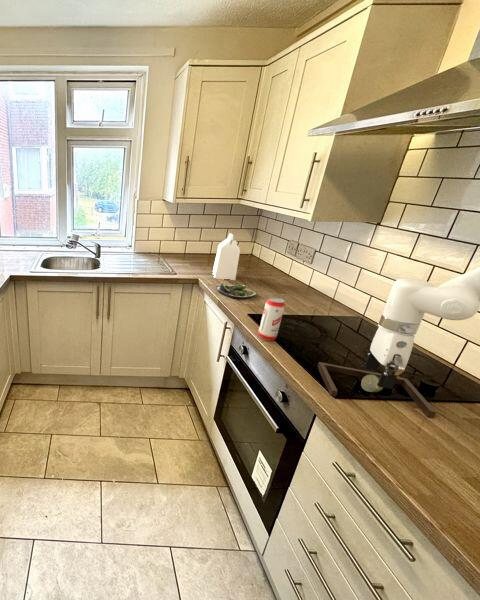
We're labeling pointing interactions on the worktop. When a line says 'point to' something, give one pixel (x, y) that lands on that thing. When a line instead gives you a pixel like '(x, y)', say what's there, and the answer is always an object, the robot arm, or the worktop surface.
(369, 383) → the pale green round lump
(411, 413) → the worktop surface
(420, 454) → the worktop surface
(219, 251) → the milk
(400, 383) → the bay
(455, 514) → the worktop surface
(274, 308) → the beer can
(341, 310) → the worktop surface
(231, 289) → the salad plate
